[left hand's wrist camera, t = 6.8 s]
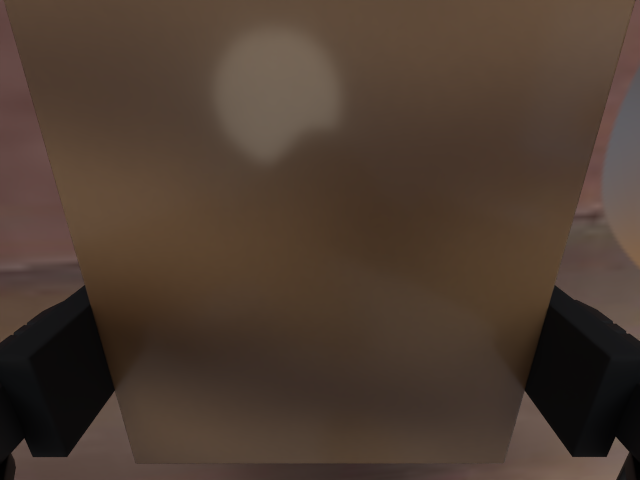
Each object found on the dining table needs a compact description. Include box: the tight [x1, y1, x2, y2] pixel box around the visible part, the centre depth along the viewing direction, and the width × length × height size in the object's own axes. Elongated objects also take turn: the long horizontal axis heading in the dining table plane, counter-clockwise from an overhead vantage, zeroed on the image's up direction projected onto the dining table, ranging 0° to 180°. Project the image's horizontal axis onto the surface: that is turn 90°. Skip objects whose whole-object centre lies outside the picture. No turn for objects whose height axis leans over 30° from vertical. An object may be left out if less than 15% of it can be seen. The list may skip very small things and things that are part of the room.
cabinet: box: [4, 0, 635, 464], centre depth 11 cm, size 20×11×10 cm, turn 0°
